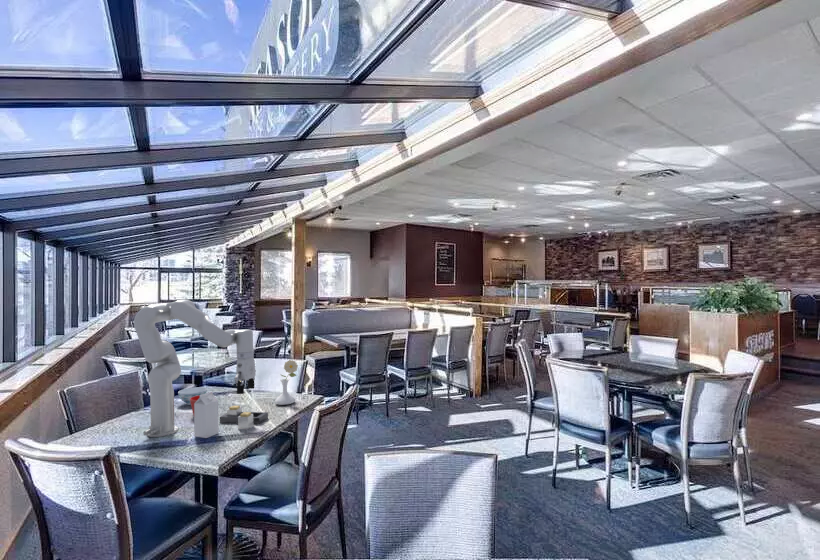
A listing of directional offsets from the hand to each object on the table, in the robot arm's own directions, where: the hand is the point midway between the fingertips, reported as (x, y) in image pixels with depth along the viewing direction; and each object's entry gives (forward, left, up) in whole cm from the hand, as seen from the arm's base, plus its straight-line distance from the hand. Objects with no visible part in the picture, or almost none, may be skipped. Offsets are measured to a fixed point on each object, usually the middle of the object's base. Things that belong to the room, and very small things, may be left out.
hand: (245, 391), depth 201 cm
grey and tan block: (0, 0, -18) cm, 18 cm away
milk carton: (-11, +13, -18) cm, 25 cm away
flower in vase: (+41, -2, -18) cm, 45 cm away
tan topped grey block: (+10, +12, -18) cm, 23 cm away
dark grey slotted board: (+10, +7, -18) cm, 21 cm away
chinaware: (+37, +54, -18) cm, 68 cm away
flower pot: (+16, +34, -18) cm, 42 cm away
